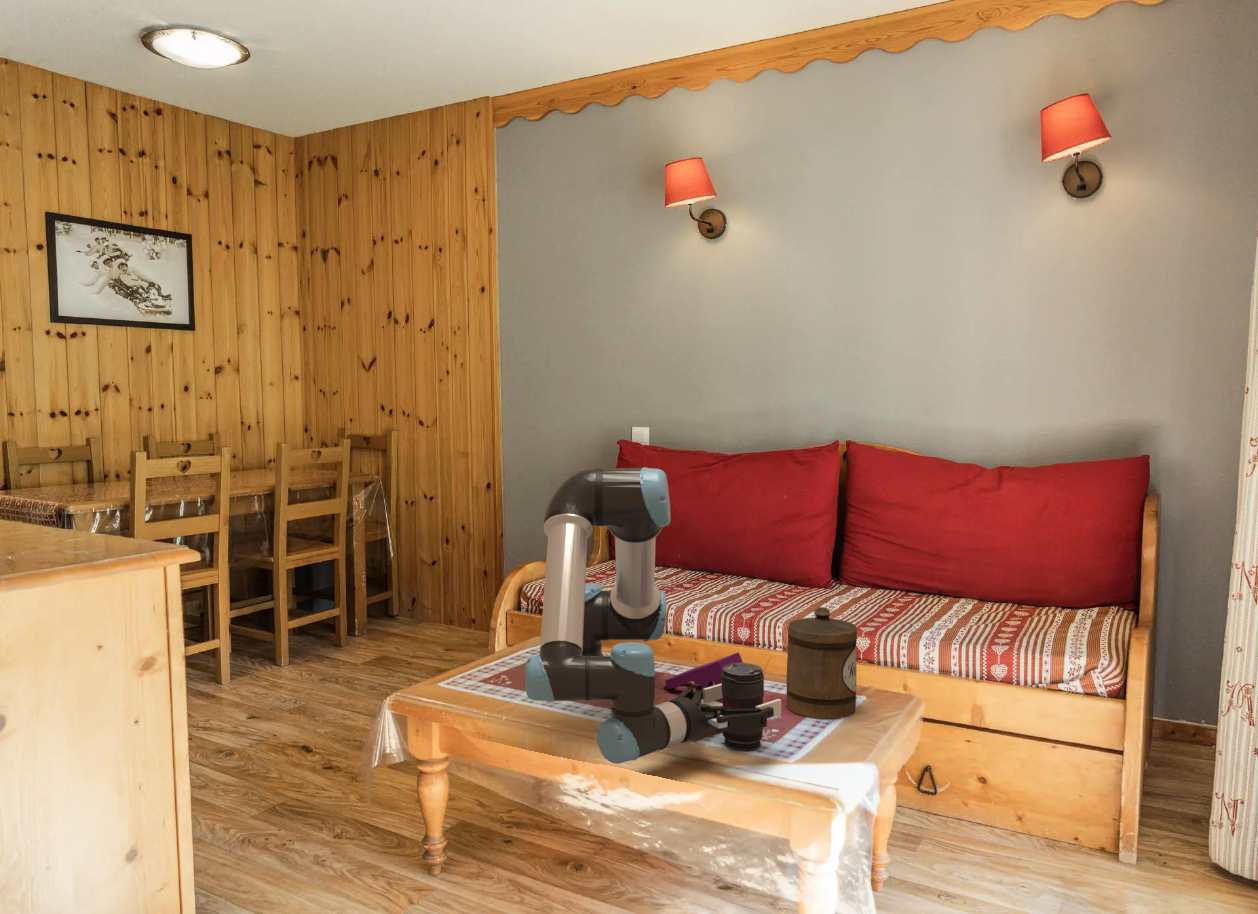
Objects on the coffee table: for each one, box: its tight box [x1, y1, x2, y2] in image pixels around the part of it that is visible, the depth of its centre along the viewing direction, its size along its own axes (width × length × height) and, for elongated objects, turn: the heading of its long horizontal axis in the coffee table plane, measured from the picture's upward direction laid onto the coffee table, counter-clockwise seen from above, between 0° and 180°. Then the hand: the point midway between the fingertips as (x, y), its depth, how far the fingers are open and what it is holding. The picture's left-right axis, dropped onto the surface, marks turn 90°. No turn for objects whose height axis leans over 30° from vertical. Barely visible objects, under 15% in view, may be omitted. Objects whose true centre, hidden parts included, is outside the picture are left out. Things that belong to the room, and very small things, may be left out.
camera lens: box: [722, 662, 765, 751], centre depth 169 cm, size 8×8×15 cm
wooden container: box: [785, 606, 858, 720], centre depth 191 cm, size 15×15×22 cm
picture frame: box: [656, 699, 723, 742], centre depth 180 cm, size 12×12×4 cm
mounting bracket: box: [664, 652, 744, 703], centre depth 201 cm, size 9×8×18 cm
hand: (752, 697), depth 172 cm, fingers open, 13 cm apart
